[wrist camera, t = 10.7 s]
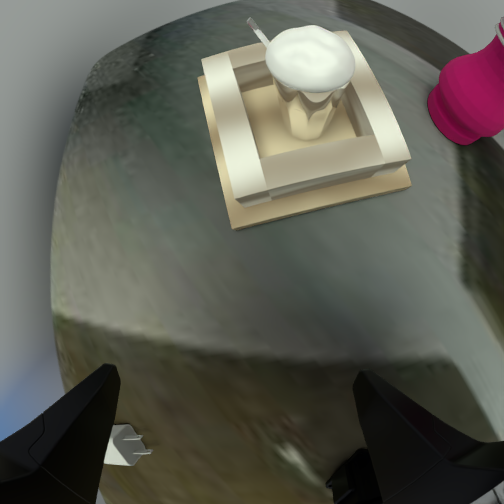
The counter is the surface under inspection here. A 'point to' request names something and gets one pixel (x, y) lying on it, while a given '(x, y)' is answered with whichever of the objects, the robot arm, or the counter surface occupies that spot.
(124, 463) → the usb wall charger
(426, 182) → the counter surface
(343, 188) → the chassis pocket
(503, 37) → the pepper mill
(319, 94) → the milkshake
